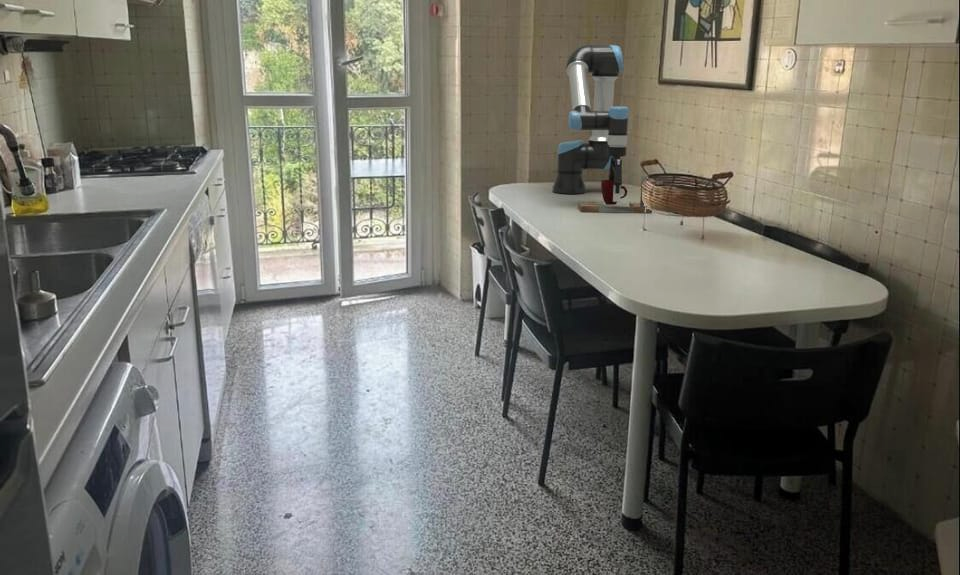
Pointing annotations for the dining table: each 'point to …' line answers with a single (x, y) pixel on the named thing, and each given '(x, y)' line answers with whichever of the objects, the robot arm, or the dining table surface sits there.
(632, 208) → the wooden stand
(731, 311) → the dining table surface
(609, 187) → the mug
